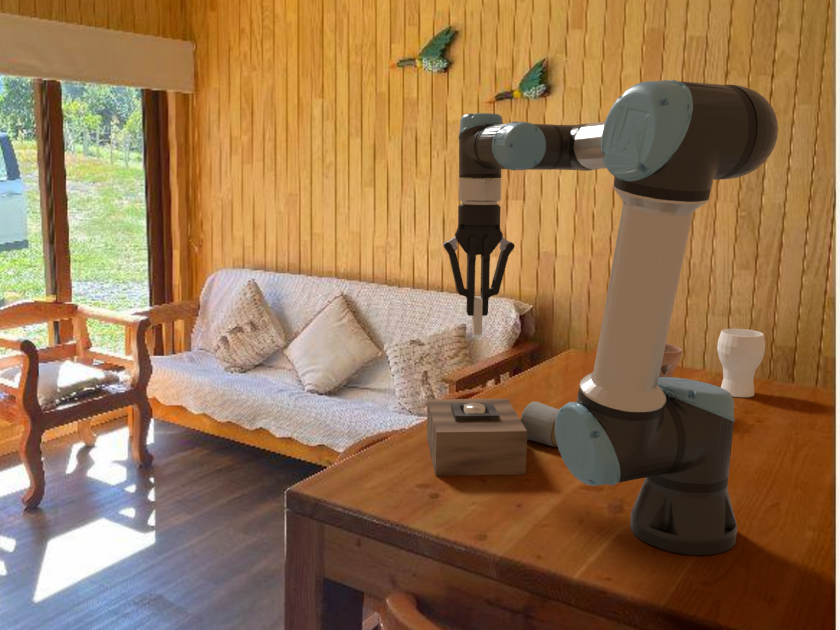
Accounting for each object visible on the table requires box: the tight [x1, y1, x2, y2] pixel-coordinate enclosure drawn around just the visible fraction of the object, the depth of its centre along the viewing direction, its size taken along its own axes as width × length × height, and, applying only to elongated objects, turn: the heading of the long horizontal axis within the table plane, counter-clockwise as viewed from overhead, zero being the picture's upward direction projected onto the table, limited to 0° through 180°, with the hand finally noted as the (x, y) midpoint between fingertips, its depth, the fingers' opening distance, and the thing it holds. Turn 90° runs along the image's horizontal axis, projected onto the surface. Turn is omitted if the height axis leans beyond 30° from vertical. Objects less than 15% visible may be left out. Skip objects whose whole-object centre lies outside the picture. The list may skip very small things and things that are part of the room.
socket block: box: [426, 398, 528, 477], centre depth 153 cm, size 20×16×9 cm
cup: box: [716, 328, 766, 398], centre depth 197 cm, size 11×11×15 cm
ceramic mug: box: [520, 401, 560, 448], centre depth 162 cm, size 11×8×8 cm
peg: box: [464, 403, 485, 413], centre depth 153 cm, size 4×4×8 cm
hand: (476, 333), depth 150 cm, fingers closed
